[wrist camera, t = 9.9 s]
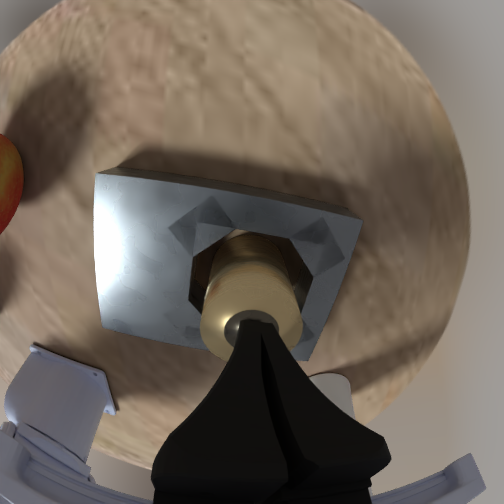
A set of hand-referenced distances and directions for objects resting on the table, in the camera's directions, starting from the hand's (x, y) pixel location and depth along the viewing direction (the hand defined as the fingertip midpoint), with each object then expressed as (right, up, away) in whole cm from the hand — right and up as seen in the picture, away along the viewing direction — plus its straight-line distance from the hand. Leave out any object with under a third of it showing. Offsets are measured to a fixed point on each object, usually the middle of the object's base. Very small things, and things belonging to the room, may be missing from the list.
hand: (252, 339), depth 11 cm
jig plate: (-2, +3, +6) cm, 7 cm away
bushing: (0, +3, +6) cm, 7 cm away
